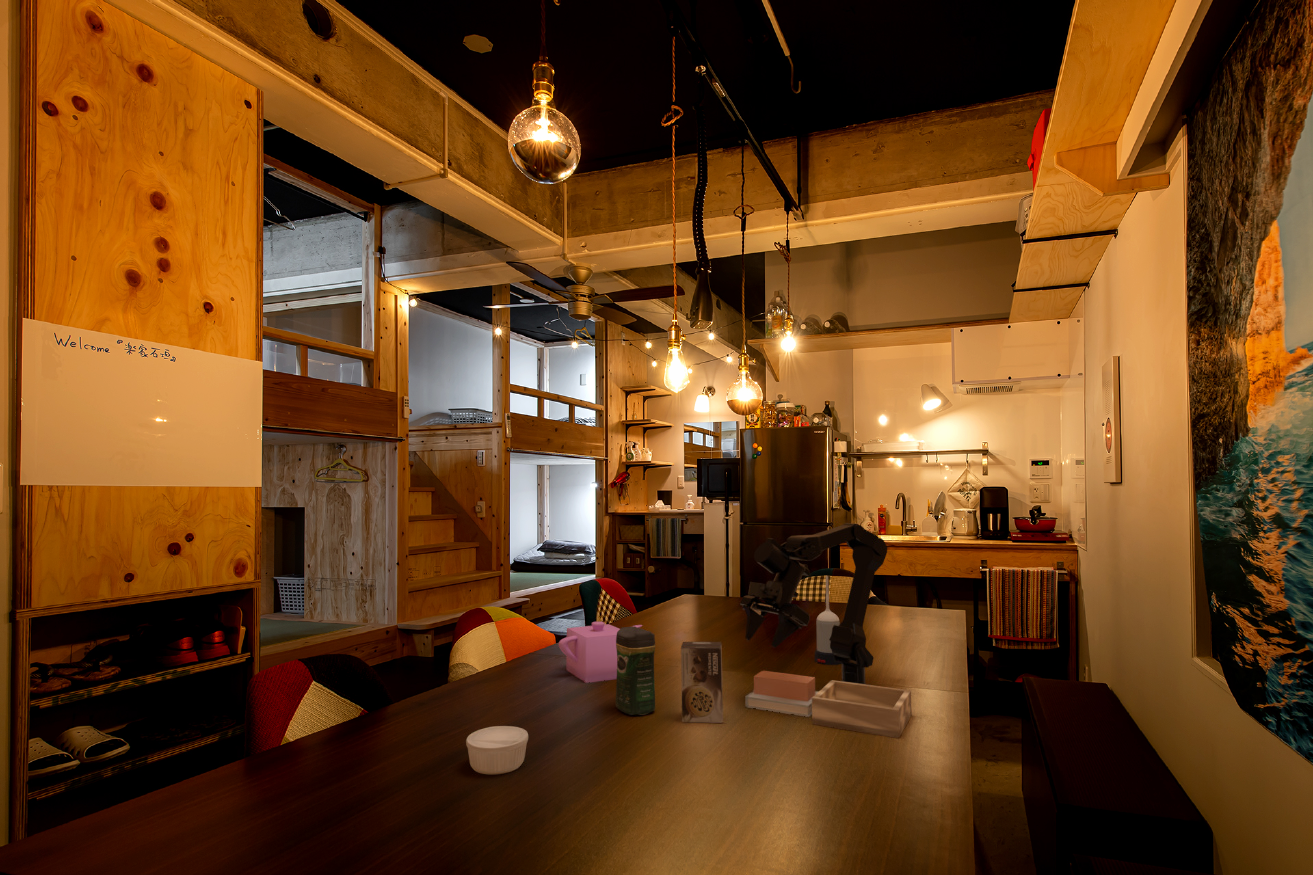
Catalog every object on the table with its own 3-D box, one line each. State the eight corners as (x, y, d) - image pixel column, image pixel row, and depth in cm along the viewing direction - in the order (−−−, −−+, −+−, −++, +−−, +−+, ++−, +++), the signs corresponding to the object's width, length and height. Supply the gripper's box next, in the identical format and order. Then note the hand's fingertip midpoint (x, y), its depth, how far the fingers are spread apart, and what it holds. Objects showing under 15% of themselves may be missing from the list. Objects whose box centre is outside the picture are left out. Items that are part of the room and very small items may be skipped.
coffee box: (722, 714, 157) (722, 641, 158) (722, 723, 150) (722, 647, 152) (682, 713, 158) (682, 640, 159) (680, 722, 151) (680, 646, 152)
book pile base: (763, 694, 172) (763, 683, 172) (823, 702, 165) (823, 692, 165) (745, 707, 162) (745, 696, 162) (808, 717, 155) (808, 705, 155)
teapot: (654, 674, 192) (654, 622, 193) (568, 685, 180) (568, 630, 181) (630, 662, 205) (631, 614, 206) (549, 672, 194) (550, 621, 195)
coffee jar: (660, 712, 158) (660, 629, 159) (630, 718, 154) (630, 633, 155) (640, 701, 166) (640, 622, 167) (610, 706, 162) (611, 625, 163)
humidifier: (815, 664, 202) (813, 577, 204) (813, 657, 210) (812, 574, 212) (844, 665, 201) (842, 578, 203) (841, 658, 209) (839, 574, 211)
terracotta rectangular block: (762, 687, 169) (762, 670, 170) (815, 694, 163) (815, 677, 163) (754, 693, 164) (753, 676, 164) (807, 701, 158) (807, 683, 158)
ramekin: (473, 782, 120) (474, 750, 121) (459, 760, 130) (460, 731, 130) (535, 770, 125) (536, 740, 126) (518, 750, 135) (518, 722, 136)
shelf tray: (832, 703, 164) (831, 680, 165) (911, 715, 156) (911, 690, 156) (812, 724, 150) (811, 697, 150) (898, 738, 141) (898, 710, 142)
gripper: (738, 563, 172) (712, 621, 166) (791, 570, 156) (763, 633, 151) (768, 585, 176) (743, 642, 171) (822, 593, 161) (796, 656, 155)
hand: (759, 643), depth 162 cm, fingers open, 9 cm apart
